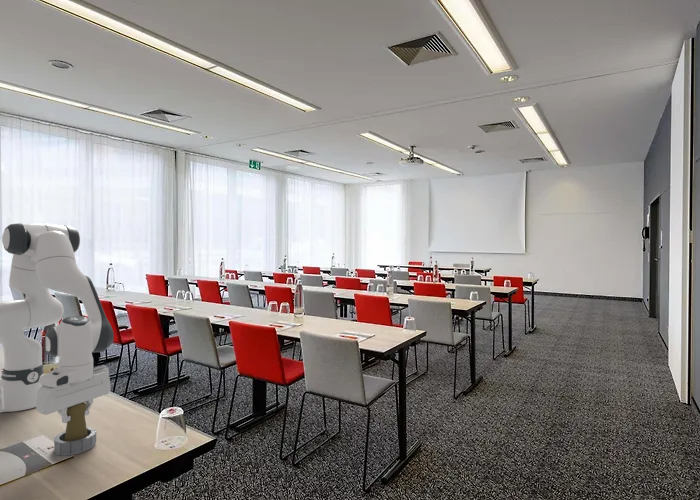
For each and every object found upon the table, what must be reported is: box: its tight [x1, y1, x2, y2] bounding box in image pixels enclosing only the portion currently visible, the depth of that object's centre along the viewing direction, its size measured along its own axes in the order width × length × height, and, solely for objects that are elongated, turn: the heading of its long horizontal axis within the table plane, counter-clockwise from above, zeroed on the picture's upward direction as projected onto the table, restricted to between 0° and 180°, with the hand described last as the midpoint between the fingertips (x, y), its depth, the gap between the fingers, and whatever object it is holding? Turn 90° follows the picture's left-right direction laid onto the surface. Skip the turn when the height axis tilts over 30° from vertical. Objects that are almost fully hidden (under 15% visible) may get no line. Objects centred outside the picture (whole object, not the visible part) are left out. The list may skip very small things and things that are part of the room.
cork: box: [64, 402, 88, 441], centre depth 128 cm, size 6×6×11 cm
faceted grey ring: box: [53, 426, 97, 457], centre depth 128 cm, size 10×10×4 cm
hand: (75, 418), depth 128 cm, fingers closed on cork, 4 cm apart
